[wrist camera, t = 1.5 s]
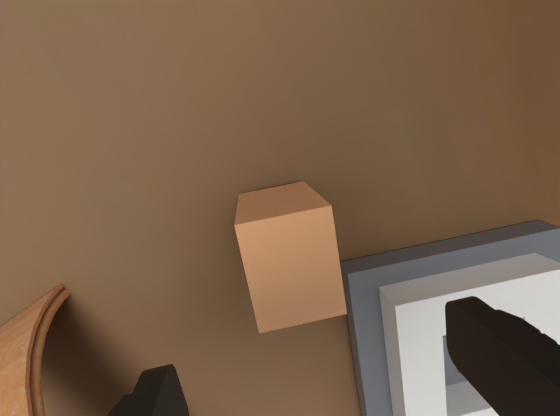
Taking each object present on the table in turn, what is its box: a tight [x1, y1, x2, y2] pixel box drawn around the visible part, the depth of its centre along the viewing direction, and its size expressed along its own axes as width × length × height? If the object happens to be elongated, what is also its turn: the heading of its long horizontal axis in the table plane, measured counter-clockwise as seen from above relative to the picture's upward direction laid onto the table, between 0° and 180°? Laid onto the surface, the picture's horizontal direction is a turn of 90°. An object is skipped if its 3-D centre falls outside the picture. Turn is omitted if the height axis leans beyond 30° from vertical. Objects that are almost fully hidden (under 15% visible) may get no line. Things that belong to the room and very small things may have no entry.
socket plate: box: [340, 220, 560, 416], centre depth 24 cm, size 16×16×4 cm
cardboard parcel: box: [234, 181, 347, 334], centre depth 18 cm, size 4×6×8 cm
